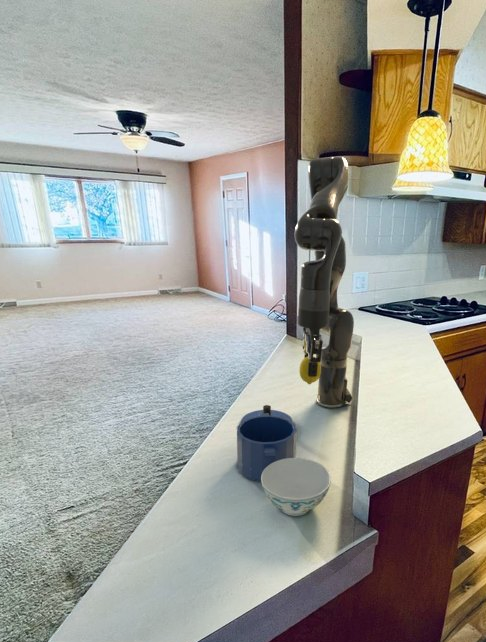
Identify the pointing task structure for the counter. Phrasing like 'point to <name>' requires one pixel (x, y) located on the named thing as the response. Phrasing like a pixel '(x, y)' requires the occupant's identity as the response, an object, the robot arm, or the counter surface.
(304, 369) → the lemon
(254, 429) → the pot
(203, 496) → the counter surface
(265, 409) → the lid
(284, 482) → the chinaware
